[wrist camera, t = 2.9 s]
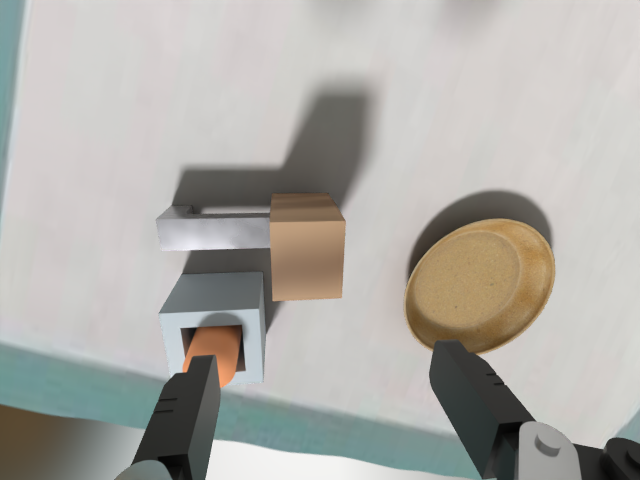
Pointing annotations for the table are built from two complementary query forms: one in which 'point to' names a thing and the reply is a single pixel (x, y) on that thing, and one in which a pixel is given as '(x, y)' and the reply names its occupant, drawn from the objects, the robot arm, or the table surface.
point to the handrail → (212, 230)
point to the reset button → (217, 348)
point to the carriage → (306, 246)
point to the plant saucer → (480, 285)
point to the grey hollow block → (217, 318)
